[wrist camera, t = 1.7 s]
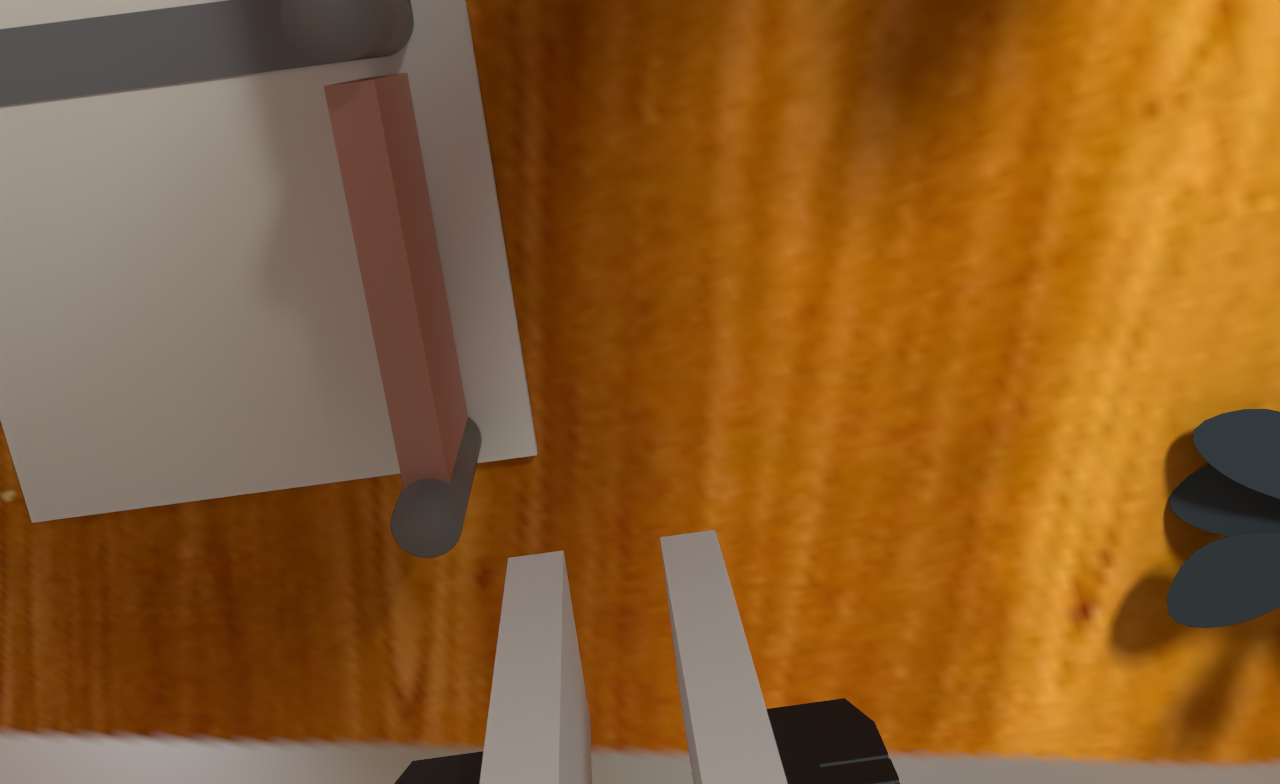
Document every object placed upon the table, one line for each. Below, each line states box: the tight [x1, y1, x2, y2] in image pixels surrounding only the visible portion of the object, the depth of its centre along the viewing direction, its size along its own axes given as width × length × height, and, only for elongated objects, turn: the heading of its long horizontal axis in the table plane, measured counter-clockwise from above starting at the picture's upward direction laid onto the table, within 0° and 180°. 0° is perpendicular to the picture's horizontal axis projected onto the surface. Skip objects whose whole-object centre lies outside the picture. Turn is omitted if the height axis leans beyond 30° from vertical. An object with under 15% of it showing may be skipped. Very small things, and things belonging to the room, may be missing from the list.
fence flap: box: [324, 73, 482, 558], centre depth 31 cm, size 12×2×7 cm, turn 7°
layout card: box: [0, 0, 538, 523], centre depth 32 cm, size 29×16×1 cm, turn 7°
